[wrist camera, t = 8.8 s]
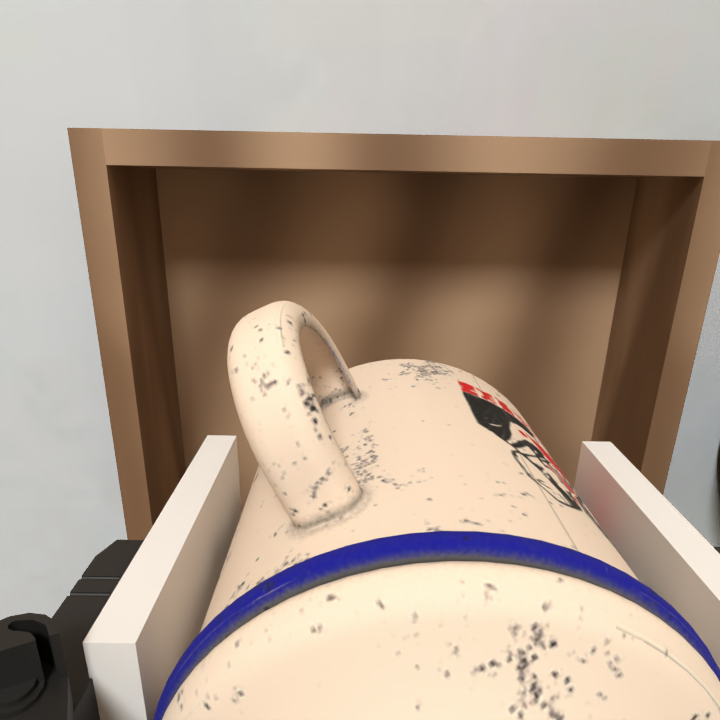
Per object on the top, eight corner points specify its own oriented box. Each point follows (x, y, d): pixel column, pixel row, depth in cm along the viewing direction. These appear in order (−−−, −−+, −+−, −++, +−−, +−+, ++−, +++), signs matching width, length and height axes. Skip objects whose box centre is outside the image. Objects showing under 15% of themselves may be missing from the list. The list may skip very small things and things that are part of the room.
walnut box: (655, 151, 20) (745, 141, 16) (583, 541, 26) (633, 620, 21) (136, 140, 20) (67, 127, 15) (179, 535, 26) (138, 614, 21)
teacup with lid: (581, 546, 17) (993, 1211, 6) (329, 636, 18) (286, 1334, 7) (449, 193, 14) (854, 238, 2) (146, 333, 15) (-491, 786, 4)
